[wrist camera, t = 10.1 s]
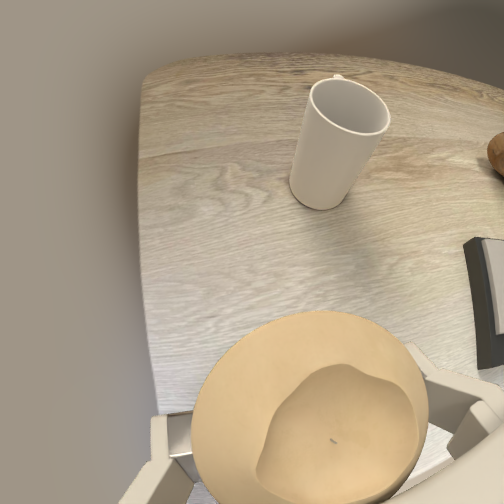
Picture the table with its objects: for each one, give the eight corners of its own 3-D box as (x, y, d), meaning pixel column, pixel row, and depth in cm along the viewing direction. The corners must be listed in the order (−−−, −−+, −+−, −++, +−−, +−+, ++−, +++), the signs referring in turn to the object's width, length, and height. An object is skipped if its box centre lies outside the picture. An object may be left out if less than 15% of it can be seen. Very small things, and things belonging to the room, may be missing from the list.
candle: (225, 459, 12) (212, 584, 3) (207, 351, 14) (156, 318, 5) (337, 438, 13) (468, 504, 4) (320, 334, 15) (441, 272, 6)
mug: (349, 216, 31) (399, 143, 20) (286, 210, 31) (312, 127, 20) (340, 143, 35) (373, 67, 24) (286, 136, 35) (304, 53, 24)
